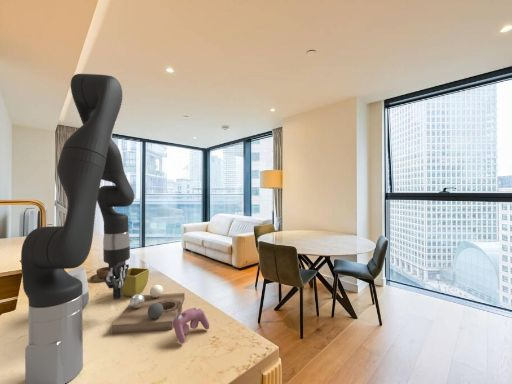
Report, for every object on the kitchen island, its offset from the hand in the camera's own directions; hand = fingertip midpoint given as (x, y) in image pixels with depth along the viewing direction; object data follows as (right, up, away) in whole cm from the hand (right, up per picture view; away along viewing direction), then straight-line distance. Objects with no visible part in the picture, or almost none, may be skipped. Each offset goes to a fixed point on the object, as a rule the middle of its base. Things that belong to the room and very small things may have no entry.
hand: (117, 298), depth 78 cm
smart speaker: (-18, -6, +4) cm, 20 cm away
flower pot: (-4, -6, +17) cm, 19 cm away
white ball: (+9, -3, +8) cm, 13 cm away
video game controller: (+28, -6, -11) cm, 31 cm away
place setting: (-26, -7, +40) cm, 48 cm away
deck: (+11, -6, +1) cm, 13 cm away
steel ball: (+6, -3, 0) cm, 7 cm away
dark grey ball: (+15, -3, -6) cm, 17 cm away
